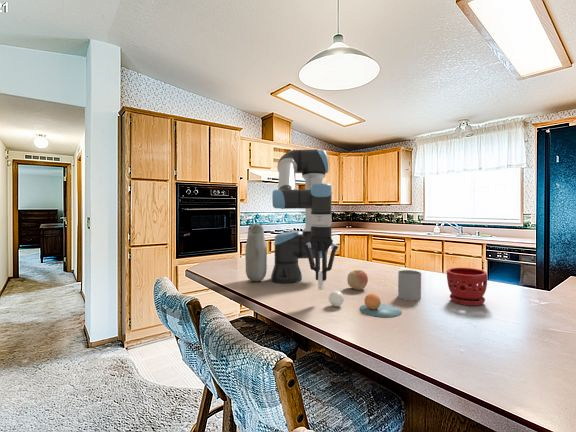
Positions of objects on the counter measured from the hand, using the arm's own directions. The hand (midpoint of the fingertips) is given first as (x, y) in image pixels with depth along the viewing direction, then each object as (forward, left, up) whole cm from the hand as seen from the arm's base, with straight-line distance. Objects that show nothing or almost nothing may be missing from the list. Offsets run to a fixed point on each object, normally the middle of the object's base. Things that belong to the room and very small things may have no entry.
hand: (321, 288), depth 118 cm
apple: (-9, +26, -6) cm, 28 cm away
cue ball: (+5, +3, -3) cm, 7 cm away
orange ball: (+15, +12, -3) cm, 19 cm away
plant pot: (+26, +48, -6) cm, 55 cm away
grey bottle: (-45, -6, -6) cm, 45 cm away
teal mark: (+17, +13, -6) cm, 22 cm away
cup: (+11, +35, -6) cm, 37 cm away
